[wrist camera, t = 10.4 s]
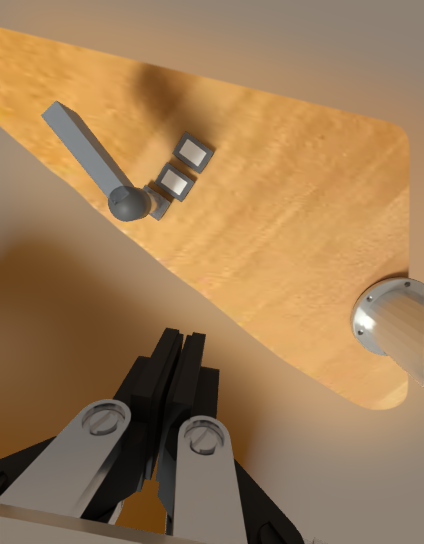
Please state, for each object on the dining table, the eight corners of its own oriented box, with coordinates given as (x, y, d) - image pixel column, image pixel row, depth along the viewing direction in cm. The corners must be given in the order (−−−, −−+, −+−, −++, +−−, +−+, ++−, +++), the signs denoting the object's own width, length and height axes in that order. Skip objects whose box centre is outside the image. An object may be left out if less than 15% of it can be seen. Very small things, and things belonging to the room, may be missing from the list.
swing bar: (82, 108, 27) (61, 95, 23) (157, 206, 29) (149, 207, 26) (59, 130, 28) (35, 120, 24) (135, 225, 30) (123, 228, 26)
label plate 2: (194, 182, 36) (194, 182, 35) (181, 202, 37) (181, 202, 36) (167, 162, 35) (166, 161, 35) (155, 183, 36) (154, 182, 35)
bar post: (171, 202, 37) (159, 202, 30) (159, 220, 37) (145, 224, 30) (146, 185, 36) (129, 181, 29) (135, 203, 37) (115, 204, 30)
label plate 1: (213, 153, 35) (213, 152, 34) (199, 174, 36) (199, 173, 35) (186, 132, 34) (185, 131, 34) (172, 153, 35) (172, 153, 34)
